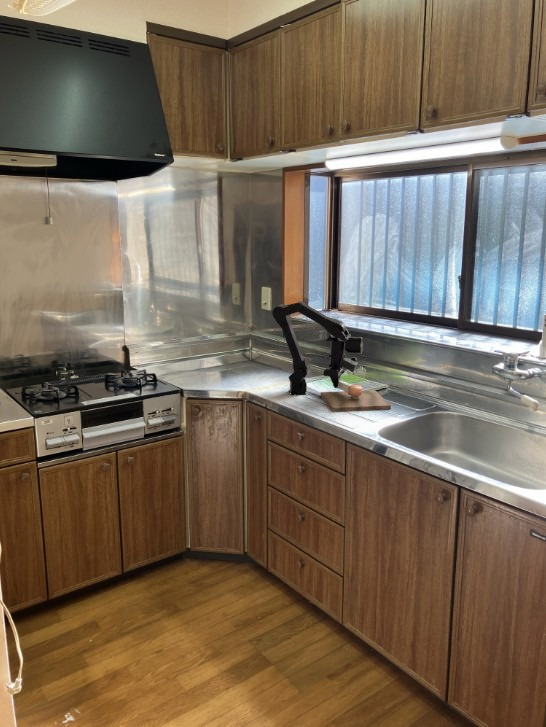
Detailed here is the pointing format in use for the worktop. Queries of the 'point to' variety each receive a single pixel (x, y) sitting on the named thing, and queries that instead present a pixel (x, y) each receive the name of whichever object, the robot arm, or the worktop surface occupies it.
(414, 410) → the worktop surface
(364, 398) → the post board
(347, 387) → the orange and white spoon
